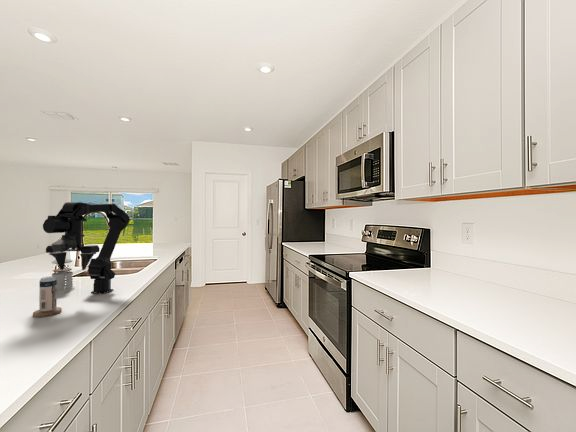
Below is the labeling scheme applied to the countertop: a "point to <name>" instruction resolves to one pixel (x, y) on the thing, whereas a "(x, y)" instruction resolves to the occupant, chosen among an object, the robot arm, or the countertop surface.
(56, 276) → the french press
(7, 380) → the countertop surface
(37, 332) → the countertop surface
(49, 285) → the beer can
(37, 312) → the walnut coaster
